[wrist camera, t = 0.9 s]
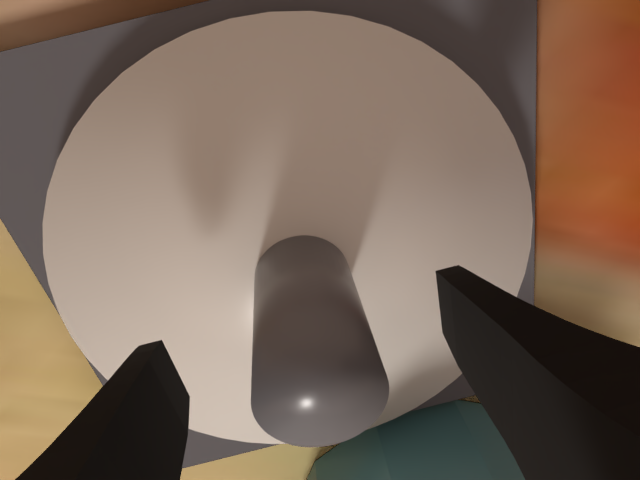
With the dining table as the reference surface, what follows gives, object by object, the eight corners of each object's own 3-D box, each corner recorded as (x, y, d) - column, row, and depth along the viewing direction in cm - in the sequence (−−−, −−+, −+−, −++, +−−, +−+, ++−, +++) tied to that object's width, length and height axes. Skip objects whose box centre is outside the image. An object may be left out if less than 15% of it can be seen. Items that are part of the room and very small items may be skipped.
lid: (517, -53, 11) (730, -112, 6) (521, 374, 18) (623, 515, 13) (-57, 89, 11) (-325, 150, 6) (164, 464, 18) (126, 641, 13)
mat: (527, -77, 12) (537, -81, 11) (526, 372, 19) (533, 380, 18) (-75, 71, 11) (-89, 74, 11) (160, 463, 19) (157, 474, 18)
